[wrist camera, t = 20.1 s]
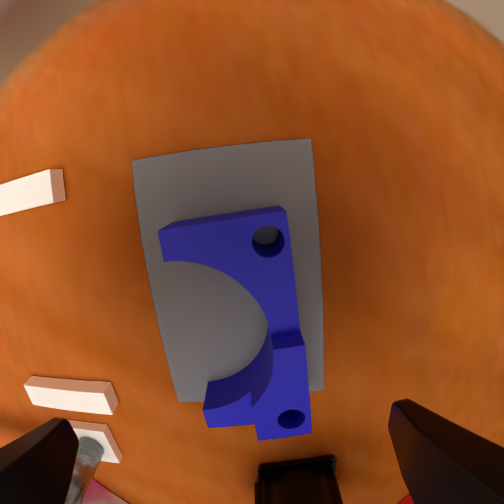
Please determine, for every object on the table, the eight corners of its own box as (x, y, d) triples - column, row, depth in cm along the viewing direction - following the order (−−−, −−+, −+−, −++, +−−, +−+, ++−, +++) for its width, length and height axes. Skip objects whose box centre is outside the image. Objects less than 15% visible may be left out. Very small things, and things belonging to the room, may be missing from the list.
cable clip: (311, 432, 16) (205, 444, 16) (301, 387, 20) (212, 398, 20) (290, 214, 13) (148, 237, 13) (279, 205, 17) (171, 222, 18)
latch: (-30, 413, 21) (-69, 457, 12) (96, 437, 21) (58, 516, 12) (-19, 431, 22) (-55, 475, 13) (109, 457, 21) (77, 534, 13)
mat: (309, 139, 17) (310, 138, 17) (322, 386, 21) (323, 390, 20) (133, 161, 17) (131, 160, 17) (179, 398, 21) (178, 402, 20)
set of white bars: (62, 169, 17) (49, 169, 16) (143, 457, 22) (139, 469, 21) (-16, 193, 17) (-29, 195, 16) (69, 447, 22) (63, 457, 21)
